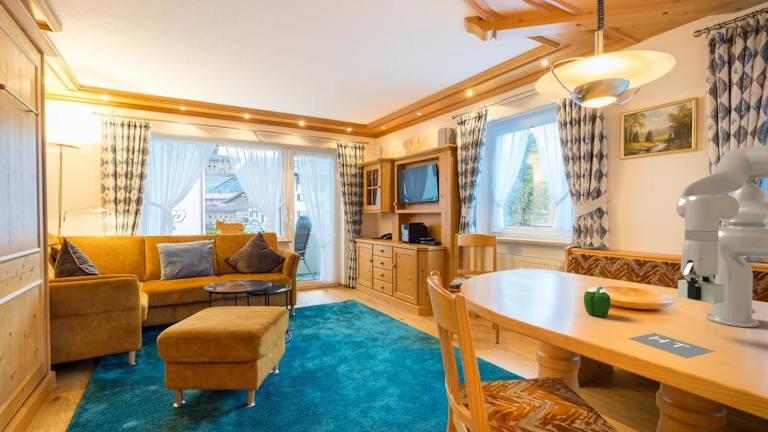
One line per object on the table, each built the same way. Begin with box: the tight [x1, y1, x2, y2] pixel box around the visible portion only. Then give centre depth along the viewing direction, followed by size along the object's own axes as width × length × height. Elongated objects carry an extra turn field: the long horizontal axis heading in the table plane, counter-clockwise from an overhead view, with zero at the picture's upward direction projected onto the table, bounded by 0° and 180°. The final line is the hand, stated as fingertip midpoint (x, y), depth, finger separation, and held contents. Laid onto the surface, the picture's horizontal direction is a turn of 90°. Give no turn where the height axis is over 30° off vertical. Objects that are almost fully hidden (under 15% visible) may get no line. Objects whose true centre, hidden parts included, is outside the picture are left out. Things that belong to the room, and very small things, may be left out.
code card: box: [627, 332, 715, 359], centre depth 100 cm, size 12×15×1 cm
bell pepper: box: [583, 285, 612, 318], centre depth 127 cm, size 8×8×10 cm
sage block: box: [677, 279, 724, 305], centre depth 106 cm, size 5×9×5 cm, turn 22°
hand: (700, 297), depth 106 cm, fingers closed on sage block, 5 cm apart
